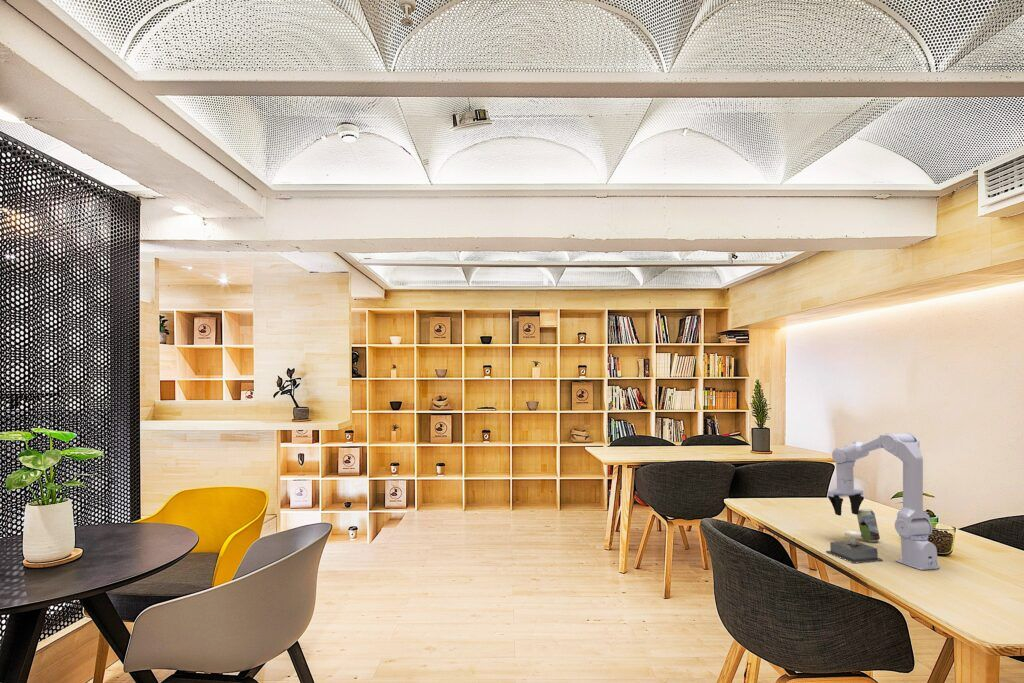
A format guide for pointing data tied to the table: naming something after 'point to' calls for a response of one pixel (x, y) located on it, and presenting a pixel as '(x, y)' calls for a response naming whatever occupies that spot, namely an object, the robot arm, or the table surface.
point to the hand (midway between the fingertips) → (846, 514)
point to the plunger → (853, 536)
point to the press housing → (854, 551)
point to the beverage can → (868, 525)
